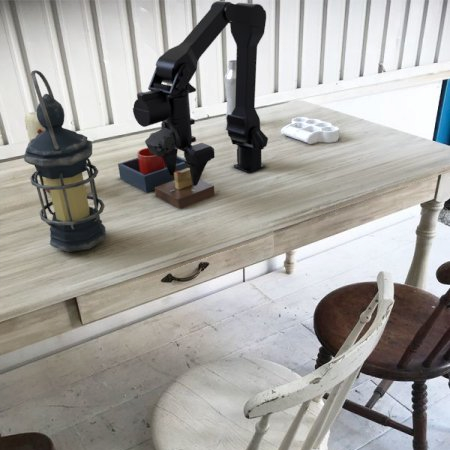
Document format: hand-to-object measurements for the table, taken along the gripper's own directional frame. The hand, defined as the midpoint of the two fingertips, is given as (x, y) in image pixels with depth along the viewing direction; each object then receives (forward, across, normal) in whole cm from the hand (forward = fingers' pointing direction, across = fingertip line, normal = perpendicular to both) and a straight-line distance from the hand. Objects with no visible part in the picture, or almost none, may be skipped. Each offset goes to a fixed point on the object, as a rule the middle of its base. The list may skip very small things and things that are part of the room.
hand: (183, 180), depth 128 cm
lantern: (+4, +3, -31) cm, 31 cm away
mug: (+3, -15, +2) cm, 16 cm away
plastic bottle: (+4, -32, +46) cm, 56 cm away
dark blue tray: (+4, -15, +2) cm, 16 cm away
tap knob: (+2, 0, 0) cm, 2 cm away
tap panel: (+4, 0, 0) cm, 4 cm away
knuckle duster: (+4, -7, +55) cm, 56 cm away
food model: (+4, -27, -22) cm, 35 cm away
